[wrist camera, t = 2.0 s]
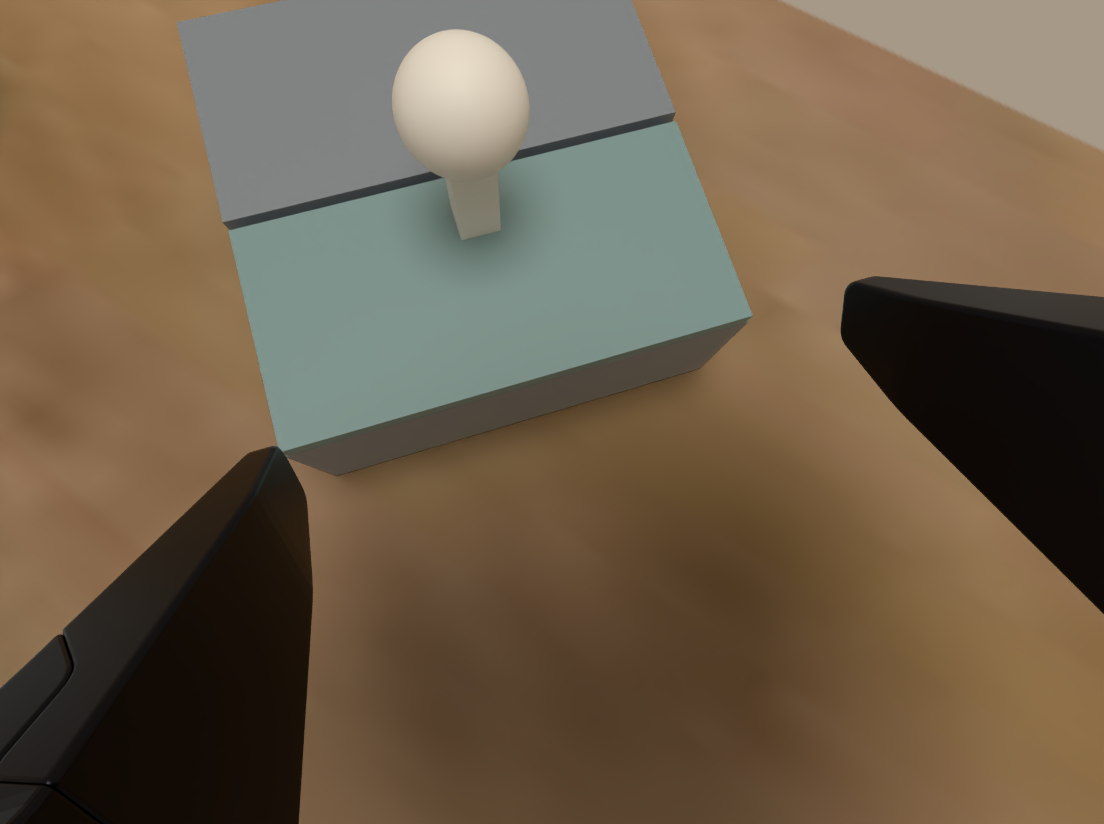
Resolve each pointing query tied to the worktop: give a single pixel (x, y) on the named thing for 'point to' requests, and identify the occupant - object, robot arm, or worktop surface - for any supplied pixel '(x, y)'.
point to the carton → (385, 163)
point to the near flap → (479, 260)
